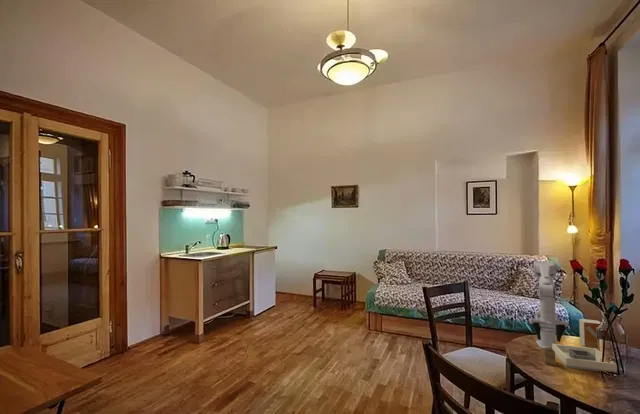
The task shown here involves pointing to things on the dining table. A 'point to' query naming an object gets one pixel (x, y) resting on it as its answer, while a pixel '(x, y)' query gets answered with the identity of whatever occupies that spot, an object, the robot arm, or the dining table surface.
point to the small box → (588, 332)
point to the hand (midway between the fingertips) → (548, 340)
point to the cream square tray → (582, 358)
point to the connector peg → (548, 355)
